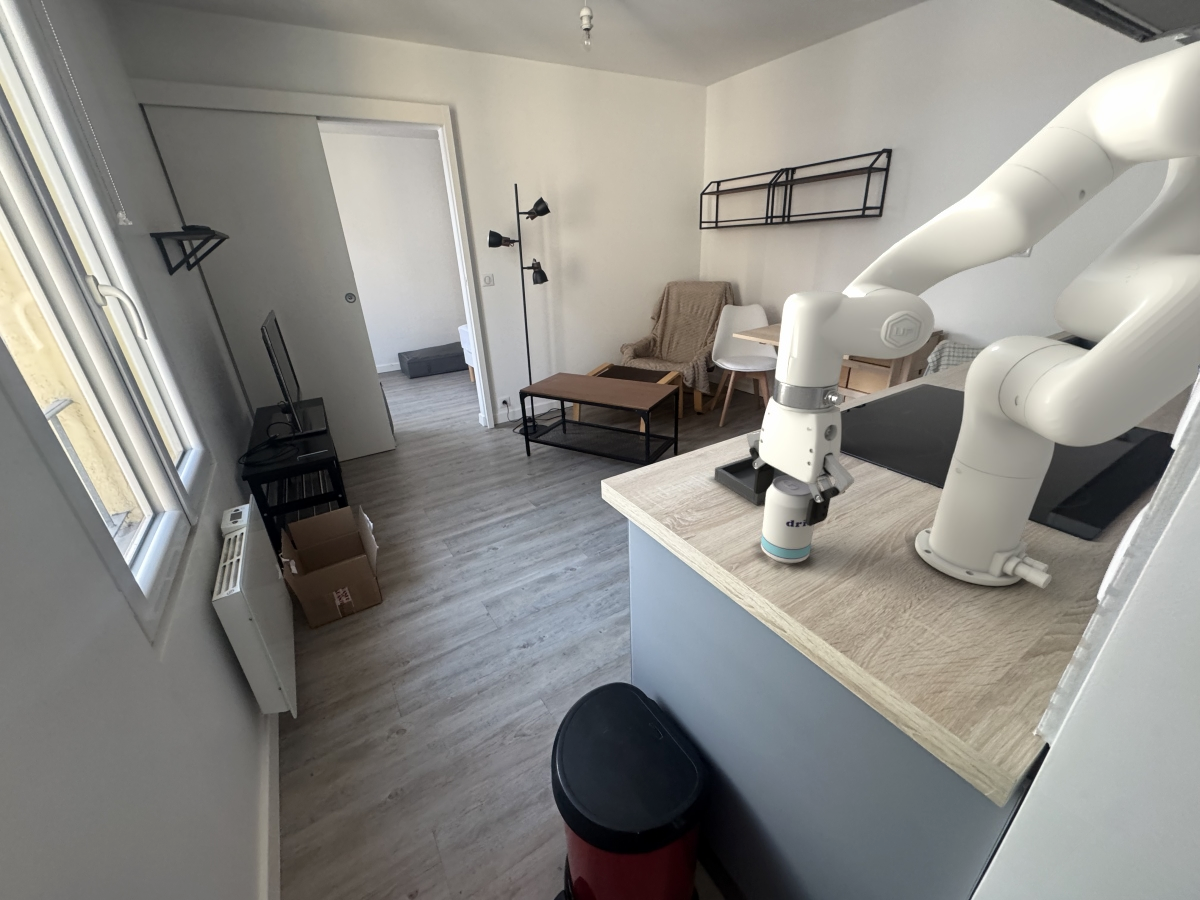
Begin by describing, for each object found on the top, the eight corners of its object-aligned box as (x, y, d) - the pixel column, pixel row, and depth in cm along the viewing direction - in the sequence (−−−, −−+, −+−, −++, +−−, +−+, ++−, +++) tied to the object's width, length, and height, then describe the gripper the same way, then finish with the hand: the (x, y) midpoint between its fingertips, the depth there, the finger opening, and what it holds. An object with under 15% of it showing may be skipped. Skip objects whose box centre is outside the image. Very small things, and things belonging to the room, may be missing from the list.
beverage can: (778, 572, 67) (787, 501, 62) (751, 545, 73) (757, 478, 68) (819, 561, 69) (831, 491, 64) (789, 535, 75) (798, 469, 70)
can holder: (803, 487, 88) (805, 475, 87) (756, 505, 83) (758, 493, 82) (758, 464, 97) (759, 453, 96) (714, 479, 93) (714, 467, 92)
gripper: (887, 406, 55) (859, 528, 62) (774, 372, 69) (762, 475, 76) (843, 419, 52) (819, 545, 59) (735, 381, 66) (726, 487, 73)
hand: (787, 505), depth 67 cm, fingers open, 9 cm apart
